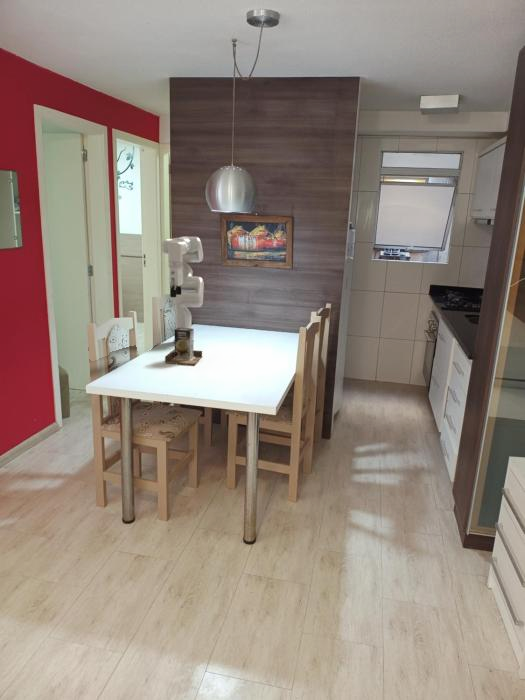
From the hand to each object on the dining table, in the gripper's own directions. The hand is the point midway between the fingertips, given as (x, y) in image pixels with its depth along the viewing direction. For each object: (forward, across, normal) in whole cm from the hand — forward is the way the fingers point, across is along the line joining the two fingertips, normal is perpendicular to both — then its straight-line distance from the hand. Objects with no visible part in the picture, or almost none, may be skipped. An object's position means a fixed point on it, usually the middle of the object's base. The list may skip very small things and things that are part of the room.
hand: (175, 295), depth 291 cm
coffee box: (+32, -11, -7) cm, 35 cm away
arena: (+33, -13, -8) cm, 37 cm away
